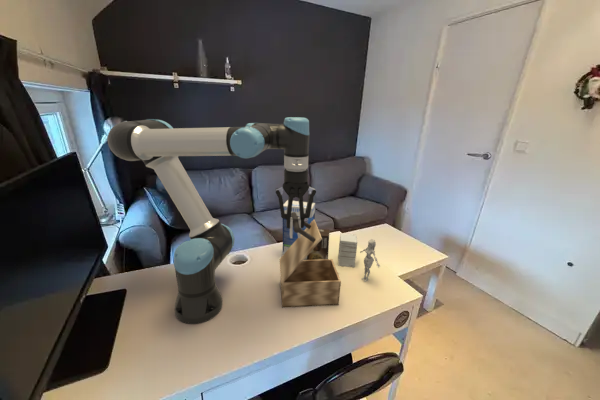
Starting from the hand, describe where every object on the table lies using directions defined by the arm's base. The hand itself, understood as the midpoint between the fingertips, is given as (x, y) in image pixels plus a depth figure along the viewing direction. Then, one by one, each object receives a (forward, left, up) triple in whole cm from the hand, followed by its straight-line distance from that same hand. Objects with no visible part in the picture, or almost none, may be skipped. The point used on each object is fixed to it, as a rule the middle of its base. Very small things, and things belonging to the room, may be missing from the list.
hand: (294, 236), depth 94 cm
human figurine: (+31, +7, -24) cm, 40 cm away
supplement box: (+26, +20, -24) cm, 40 cm away
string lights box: (+4, +26, -24) cm, 36 cm away
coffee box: (+12, +19, -24) cm, 33 cm away
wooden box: (+6, 0, -24) cm, 25 cm away
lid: (+2, 0, -6) cm, 6 cm away
